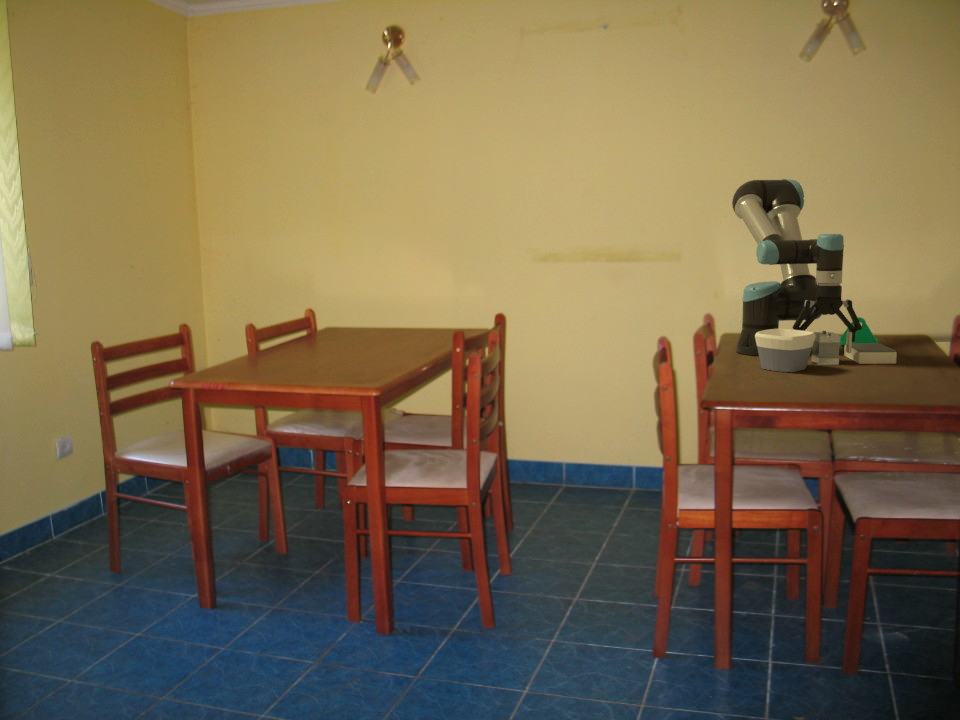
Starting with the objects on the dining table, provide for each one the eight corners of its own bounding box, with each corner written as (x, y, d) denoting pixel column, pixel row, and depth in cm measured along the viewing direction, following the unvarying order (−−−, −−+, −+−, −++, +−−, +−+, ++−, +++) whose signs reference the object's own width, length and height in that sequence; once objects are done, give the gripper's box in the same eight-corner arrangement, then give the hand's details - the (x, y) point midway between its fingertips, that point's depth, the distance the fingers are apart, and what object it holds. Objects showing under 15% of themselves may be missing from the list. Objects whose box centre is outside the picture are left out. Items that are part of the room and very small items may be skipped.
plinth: (859, 363, 276) (859, 350, 276) (844, 355, 291) (844, 343, 290) (896, 363, 275) (896, 350, 274) (879, 355, 290) (879, 343, 289)
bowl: (746, 369, 271) (748, 332, 269) (775, 362, 281) (776, 327, 279) (792, 375, 260) (794, 337, 258) (820, 368, 269) (822, 332, 268)
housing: (818, 364, 276) (820, 334, 274) (811, 360, 284) (812, 330, 282) (838, 364, 275) (840, 333, 274) (831, 360, 283) (832, 330, 282)
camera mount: (877, 345, 309) (879, 316, 307) (876, 349, 302) (878, 319, 301) (840, 344, 314) (841, 315, 313) (838, 347, 308) (839, 317, 306)
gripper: (790, 285, 273) (787, 354, 276) (874, 284, 270) (871, 354, 274) (784, 284, 280) (781, 351, 283) (866, 283, 278) (863, 350, 281)
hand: (825, 352), depth 279 cm, fingers open, 13 cm apart
